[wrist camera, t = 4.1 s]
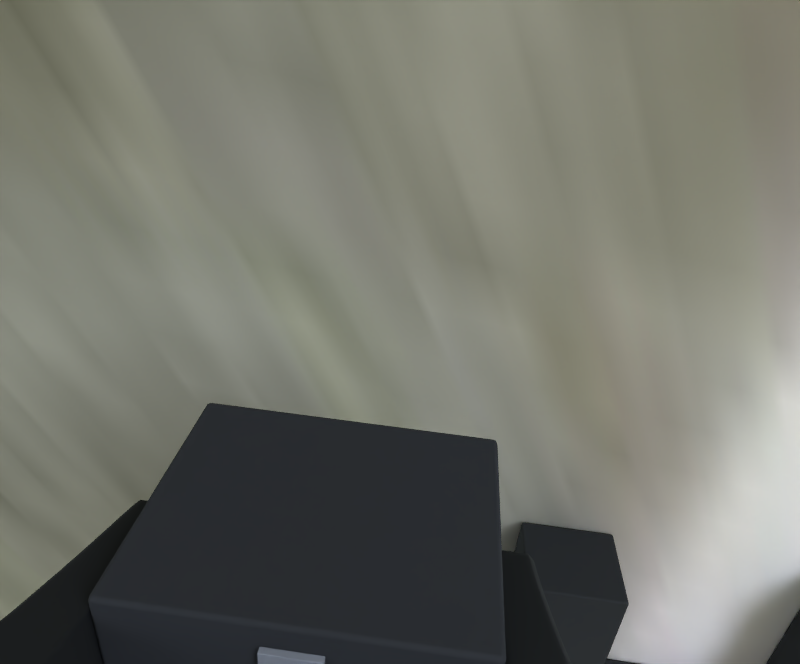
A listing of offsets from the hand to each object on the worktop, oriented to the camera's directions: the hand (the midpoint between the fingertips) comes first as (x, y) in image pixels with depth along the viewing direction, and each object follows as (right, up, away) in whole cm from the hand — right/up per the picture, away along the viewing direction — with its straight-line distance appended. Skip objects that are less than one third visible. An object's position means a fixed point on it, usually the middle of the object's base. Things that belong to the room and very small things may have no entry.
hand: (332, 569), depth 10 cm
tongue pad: (0, -2, +3) cm, 4 cm away
